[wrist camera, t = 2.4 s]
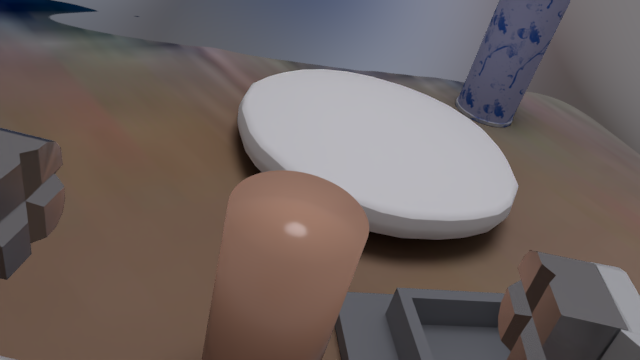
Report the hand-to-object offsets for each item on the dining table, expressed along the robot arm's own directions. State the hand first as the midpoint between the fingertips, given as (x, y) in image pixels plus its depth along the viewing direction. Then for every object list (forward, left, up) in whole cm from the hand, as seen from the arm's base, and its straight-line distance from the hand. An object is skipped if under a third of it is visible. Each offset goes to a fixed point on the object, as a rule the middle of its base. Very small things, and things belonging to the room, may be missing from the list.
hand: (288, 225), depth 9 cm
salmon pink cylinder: (+3, +10, -22) cm, 24 cm away
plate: (+16, +36, -22) cm, 45 cm away
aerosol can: (+36, +52, -22) cm, 67 cm away
